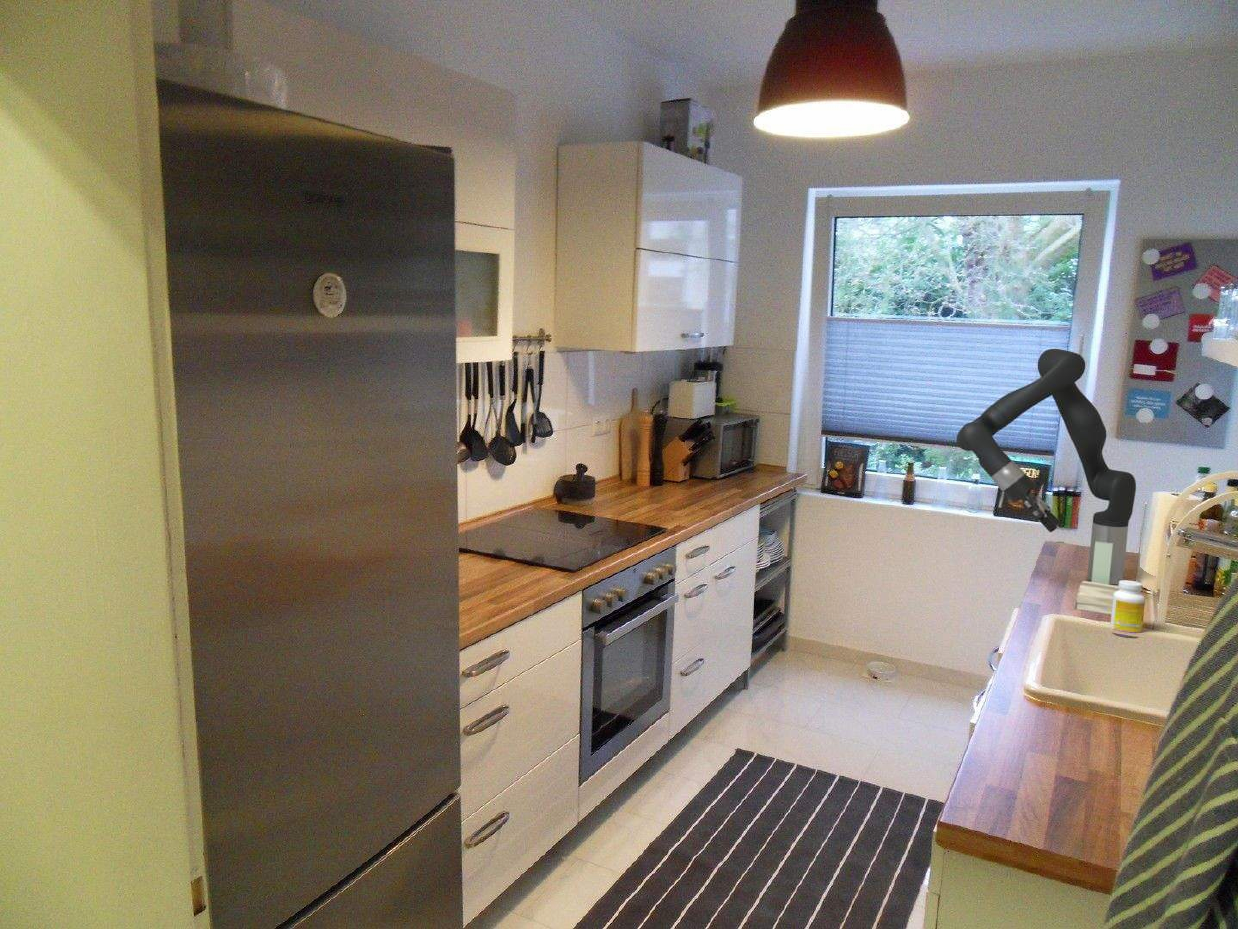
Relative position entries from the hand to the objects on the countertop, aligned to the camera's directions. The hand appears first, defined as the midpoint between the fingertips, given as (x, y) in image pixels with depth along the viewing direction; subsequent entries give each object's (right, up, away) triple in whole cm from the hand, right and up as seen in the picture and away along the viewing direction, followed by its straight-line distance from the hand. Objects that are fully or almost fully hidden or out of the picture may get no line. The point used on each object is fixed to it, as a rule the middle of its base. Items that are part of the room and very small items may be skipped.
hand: (1055, 527), depth 234 cm
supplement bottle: (+4, -24, -26) cm, 35 cm away
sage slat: (+9, -19, -4) cm, 22 cm away
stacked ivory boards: (+8, -21, -6) cm, 23 cm away
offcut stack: (+6, -20, -10) cm, 23 cm away
